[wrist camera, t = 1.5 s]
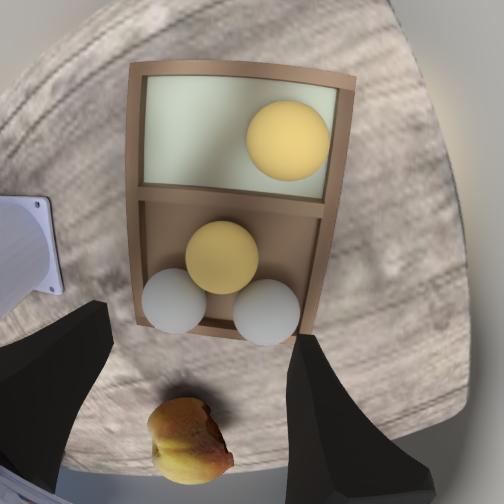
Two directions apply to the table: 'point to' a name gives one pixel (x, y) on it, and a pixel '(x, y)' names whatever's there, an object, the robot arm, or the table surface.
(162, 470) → the fruit
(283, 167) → the ochre ball
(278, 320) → the grey ball
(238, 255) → the ochre ball
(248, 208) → the sorting board
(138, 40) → the table surface
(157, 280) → the grey ball
